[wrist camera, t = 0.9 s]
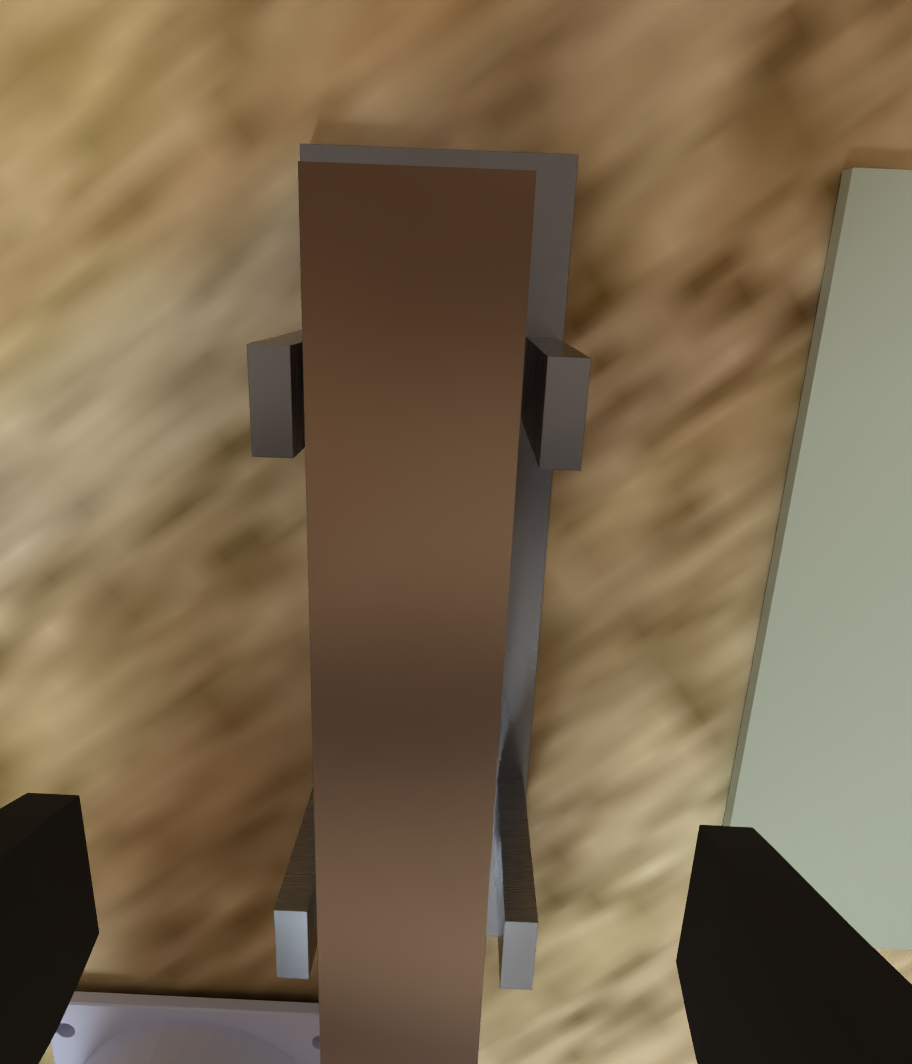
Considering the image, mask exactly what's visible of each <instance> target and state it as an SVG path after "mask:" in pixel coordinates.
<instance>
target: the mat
mask: <svg viewBox="0 0 912 1064" xmlns="http://www.w3.org/2000/svg"><path fill="white" fill-rule="evenodd" d="M723 826H733V827H753V828H754V829H755V830H756V831H757V832H758V833H759V834H760V835H761V836H762V837H763V838H764V839H765V840H766V841H767V842H768V843H769V844H770V845H771V846H772V847H773V848H774V849H775V850H776V851H777V852H778V853H779V854H780V855H781V856H782V857H783V858H784V859H785V860H786V861H787V862H788V863H789V864H790V865H791V866H792V867H793V868H794V869H795V870H796V871H797V872H798V873H799V874H800V875H801V876H802V877H803V878H804V879H805V880H806V881H807V882H808V883H809V884H810V885H811V886H812V887H813V888H814V889H815V890H816V891H817V892H818V893H819V894H820V895H821V896H822V897H823V898H824V899H825V900H826V901H827V902H828V903H829V904H830V905H831V906H832V907H833V908H834V909H835V910H836V911H837V912H838V913H839V914H840V915H841V916H842V917H843V918H844V919H845V920H846V921H847V922H848V923H849V924H850V925H851V926H852V927H853V928H854V929H855V930H856V931H857V932H858V933H859V934H860V935H861V936H862V937H863V938H864V939H865V940H866V941H867V942H868V943H869V944H870V945H871V946H872V947H873V948H883V949H904V950H912V170H903V169H878V168H850V169H847V170H844V171H842V177H841V182H840V188H839V193H838V199H837V204H836V210H835V215H834V221H833V226H832V231H831V237H830V242H829V248H828V253H827V259H826V264H825V270H824V275H823V281H822V286H821V292H820V297H819V303H818V308H817V313H816V319H815V324H814V330H813V335H812V341H811V346H810V352H809V357H808V363H807V368H806V374H805V379H804V384H803V390H802V395H801V401H800V406H799V412H798V417H797V423H796V428H795V434H794V439H793V445H792V450H791V456H790V461H789V466H788V472H787V477H786V483H785V488H784V494H783V499H782V505H781V510H780V516H779V521H778V527H777V532H776V537H775V543H774V548H773V554H772V559H771V565H770V570H769V576H768V581H767V587H766V592H765V598H764V603H763V608H762V614H761V619H760V625H759V630H758V636H757V641H756V647H755V652H754V658H753V663H752V669H751V674H750V680H749V685H748V690H747V696H746V701H745V707H744V712H743V718H742V723H741V729H740V734H739V740H738V745H737V751H736V756H735V761H734V767H733V772H732V778H731V783H730V789H729V794H728V800H727V805H726V811H725V816H724V822H723Z"/></svg>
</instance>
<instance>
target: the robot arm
mask: <svg viewBox="0 0 912 1064" xmlns="http://www.w3.org/2000/svg"><path fill="white" fill-rule="evenodd" d="M98 935H99V929H98V922H97V915H96V908H95V901H94V894H93V887H92V880H91V874H90V867H89V860H88V853H87V846H86V839H85V832H84V825H83V818H82V811H81V805H80V798H79V795H59V794H38V793H27V794H25V795H23V796H21V797H20V798H18V799H16V800H14V801H13V802H11V803H9V804H7V805H6V806H4V807H3V808H1V809H0V1064H39V1062H40V1060H41V1058H42V1057H43V1055H44V1053H45V1051H46V1049H47V1047H48V1046H49V1044H50V1042H51V1046H52V1052H53V1057H54V1063H55V1064H320V1025H319V1003H306V1002H286V1001H265V1000H244V999H224V998H203V997H183V996H162V995H142V994H121V993H101V992H80V991H75V989H76V987H77V985H78V983H79V980H80V978H81V975H82V973H83V971H84V968H85V966H86V963H87V961H88V959H89V956H90V954H91V951H92V949H93V947H94V944H95V942H96V939H97V937H98ZM676 964H677V969H678V974H679V979H680V984H681V989H682V994H683V999H684V1004H685V1009H686V1014H687V1019H688V1023H689V1028H690V1032H691V1037H692V1041H693V1046H694V1051H695V1055H696V1060H697V1063H698V1064H912V984H911V983H910V982H908V981H907V980H906V979H905V978H904V977H903V976H902V975H901V974H900V973H899V972H898V971H897V970H896V969H895V968H894V967H893V966H892V965H891V964H890V963H889V962H888V961H887V960H886V959H885V958H884V957H882V956H881V955H880V954H879V953H878V952H877V951H876V950H875V949H874V948H873V947H872V946H871V945H870V944H869V943H868V942H867V941H866V940H865V939H864V938H863V937H862V936H861V935H860V934H859V933H858V932H857V931H856V930H855V929H854V928H853V927H852V926H851V925H850V924H849V923H848V922H847V921H846V920H845V919H844V918H843V917H842V916H841V915H840V914H839V913H838V912H837V911H836V910H835V909H834V908H833V907H832V906H831V905H830V904H829V903H828V902H827V901H826V900H825V899H824V898H823V897H822V896H821V895H820V894H819V893H818V892H817V891H816V890H815V889H814V888H813V887H812V886H811V885H810V884H809V883H808V882H807V881H806V880H805V879H804V878H803V877H802V876H801V875H800V874H799V873H798V872H797V871H796V870H795V869H794V868H793V867H792V866H791V865H790V864H789V863H788V862H787V861H786V860H785V859H784V858H783V857H782V856H781V855H780V854H779V853H778V852H777V851H776V850H775V849H774V848H773V847H772V846H771V845H770V844H769V843H768V842H767V841H766V840H765V839H764V838H763V837H762V836H761V835H760V834H759V833H758V832H757V831H756V830H755V829H754V828H753V827H733V826H712V825H700V826H699V832H698V837H697V843H696V849H695V855H694V861H693V866H692V872H691V878H690V884H689V890H688V895H687V901H686V907H685V913H684V918H683V924H682V930H681V936H680V942H679V947H678V953H677V959H676Z"/></svg>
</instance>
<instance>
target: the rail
mask: <svg viewBox="0 0 912 1064" xmlns="http://www.w3.org/2000/svg"><path fill="white" fill-rule="evenodd" d="M536 172H537V171H534V170H509V169H484V168H459V167H434V166H409V165H383V164H358V163H333V162H308V161H298V178H299V218H300V259H301V299H302V339H303V380H304V420H305V460H306V501H307V541H308V581H309V622H310V662H311V702H312V743H313V783H314V823H315V864H316V904H317V944H318V985H319V1025H320V1064H478V1049H479V1033H480V1018H481V1003H482V988H483V973H484V958H485V943H486V928H487V913H488V897H489V882H490V867H491V852H492V837H493V822H494V807H495V792H496V777H497V761H498V746H499V731H500V716H501V701H502V686H503V671H504V656H505V641H506V625H507V610H508V595H509V580H510V565H511V550H512V535H513V520H514V504H515V489H516V474H517V459H518V444H519V429H520V414H521V399H522V384H523V368H524V353H525V338H526V323H527V308H528V293H529V278H530V263H531V248H532V233H533V217H534V202H535V187H536Z"/></svg>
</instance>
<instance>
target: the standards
mask: <svg viewBox="0 0 912 1064" xmlns="http://www.w3.org/2000/svg"><path fill="white" fill-rule="evenodd" d="M300 161H308V162H333V163H358V164H383V165H409V166H434V167H459V168H484V169H509V170H534V171H537V172H536V187H535V202H534V217H533V233H532V248H531V263H530V278H529V293H528V308H527V323H526V338H525V353H524V368H523V384H522V399H521V414H520V429H519V444H518V459H517V474H516V489H515V504H514V520H513V535H512V550H511V565H510V580H509V595H508V610H507V625H506V641H505V656H504V671H503V686H502V701H501V716H500V731H499V746H498V761H497V777H496V792H495V807H494V822H493V837H492V852H491V867H490V882H489V897H488V913H487V928H486V936H497V937H498V950H499V975H500V988H504V989H524V990H532V984H533V973H534V963H535V952H536V941H537V931H538V916H537V906H536V897H535V887H534V877H533V868H532V858H531V848H530V839H529V829H528V819H527V810H526V790H527V778H528V765H529V753H530V741H531V729H532V716H533V704H534V692H535V680H536V667H537V655H538V643H539V631H540V618H541V606H542V594H543V582H544V569H545V557H546V545H547V533H548V520H549V508H550V496H551V484H552V471H553V469H554V470H577V471H581V461H582V451H583V440H584V429H585V418H586V408H587V397H588V386H589V376H590V365H591V358H590V357H588V356H586V355H585V354H583V353H581V352H580V351H578V350H576V349H575V348H573V347H571V346H570V345H568V344H566V343H565V342H563V337H564V324H565V312H566V300H567V288H568V275H569V263H570V251H571V239H572V226H573V214H574V202H575V190H576V177H577V165H578V155H573V154H548V153H523V152H498V151H472V150H447V149H422V148H397V147H371V146H346V145H321V144H300ZM247 358H248V379H249V400H250V421H251V442H252V457H275V458H294V457H295V456H296V455H297V454H298V453H299V452H300V451H301V450H302V449H303V448H304V447H305V420H304V380H303V339H302V330H300V331H297V332H293V333H289V334H285V335H281V336H277V337H273V338H269V339H265V340H261V341H257V342H253V343H249V344H247ZM274 925H275V946H276V967H277V978H297V979H309V976H310V972H311V968H312V963H313V959H314V955H315V951H316V946H317V904H316V864H315V823H314V786H313V789H312V792H311V795H310V798H309V802H308V805H307V808H306V811H305V814H304V817H303V820H302V823H301V827H300V830H299V833H298V836H297V839H296V842H295V845H294V849H293V852H292V855H291V858H290V861H289V864H288V867H287V871H286V874H285V877H284V880H283V883H282V886H281V889H280V892H279V896H278V899H277V902H276V905H275V908H274Z"/></svg>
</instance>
